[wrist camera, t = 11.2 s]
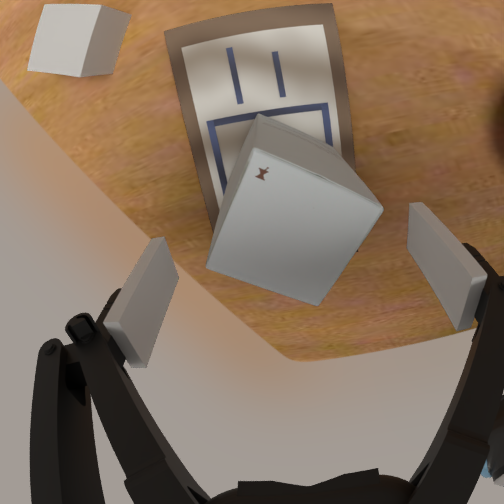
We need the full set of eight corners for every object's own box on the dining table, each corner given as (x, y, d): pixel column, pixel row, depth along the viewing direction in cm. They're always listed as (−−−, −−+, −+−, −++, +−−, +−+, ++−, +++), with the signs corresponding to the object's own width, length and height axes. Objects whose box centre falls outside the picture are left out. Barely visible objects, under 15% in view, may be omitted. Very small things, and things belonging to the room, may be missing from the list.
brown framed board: (355, 246, 32) (358, 253, 31) (224, 264, 34) (223, 271, 33) (329, 5, 20) (333, 2, 18) (167, 32, 21) (162, 31, 20)
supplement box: (224, 186, 28) (198, 269, 17) (257, 110, 24) (253, 141, 13) (298, 217, 29) (317, 311, 18) (336, 147, 25) (389, 207, 15)
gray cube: (80, 10, 19) (44, 4, 14) (132, 14, 20) (101, 4, 15) (64, 66, 22) (26, 70, 17) (113, 74, 23) (79, 77, 18)
